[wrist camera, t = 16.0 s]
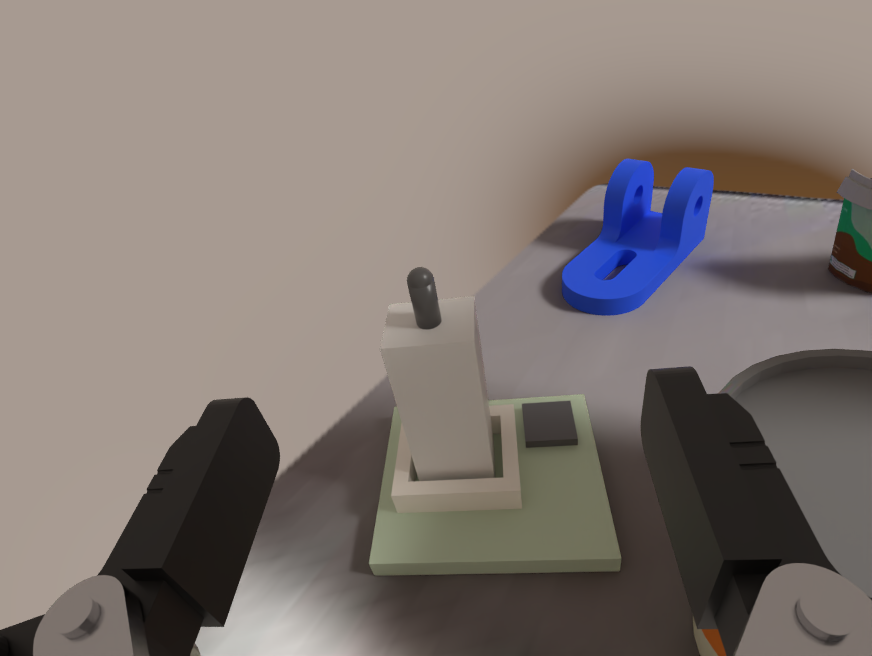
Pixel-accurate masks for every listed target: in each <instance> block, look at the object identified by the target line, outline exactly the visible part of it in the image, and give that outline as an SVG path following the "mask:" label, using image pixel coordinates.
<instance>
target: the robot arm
mask: <svg viewBox="0 0 872 656" xmlns="http://www.w3.org/2000/svg"><path fill="white" fill-rule="evenodd" d="M641 437H642V444H643V449H644V453H645V456H646V460H647V463H648V466H649V470H650V473H651V476H652V480H653V483H654V486H655V490H656V493H657V496H658V500H659V503H660V506H661V510H662V513H663V516H664V520H665V523H666V526H667V530H668V533H669V537H670V540H671V543H672V547H673V550H674V553H675V557H676V560H677V563H678V567H679V570H680V573H681V577H682V580H683V583H684V587H685V590H686V593H687V597H688V600H689V603H690V607H691V610H692V613H693V617H694V620H695V623H696V627H697V629H718V631H719V634H720V637H721V640H722V643H723V646H724V649H725V653H726V656H872V598H870V597H869V596H867V595H866V594H865V593H864V592H863V591H862V590H861V589H860V588H858V587H857V586H856V585H855V584H853V583H852V582H850V581H849V580H848V579H846V578H844V577H843V576H842V575H841V574H840V573H839V572H838V571H837V570H836V569H835V568H834V566H833V565H832V564H831V563H830V561H829V560H828V558H827V557H826V555H825V553H824V552H823V550H822V548H821V546H820V544H819V542H818V541H817V539H816V537H815V535H814V533H813V531H812V529H811V527H810V525H809V523H808V522H807V520H806V518H805V516H804V514H803V512H802V510H801V508H800V506H799V504H798V503H797V501H796V499H795V497H794V495H793V493H792V491H791V489H790V487H789V485H788V484H787V482H786V480H785V478H784V476H783V474H782V472H781V470H780V468H777V466H776V461H775V459H774V457H773V455H772V453H771V451H770V449H769V447H768V446H766V445H765V440H764V438H763V436H762V434H761V432H760V430H759V428H758V426H757V425H756V423H755V421H754V419H753V417H752V415H751V414H750V413H749V412H748V411H747V410H746V409H744V408H743V407H742V406H741V405H740V404H739V403H738V402H737V401H735V400H734V399H733V398H732V397H731V396H730V395H729V394H728V393H720V394H707V393H706V391H705V389H704V387H703V385H702V382H701V380H700V378H699V376H698V374H697V372H696V370H695V369H694V368H693V367H677V368H663V369H650V370H648V373H647V377H646V385H645V392H644V400H643V408H642V416H641ZM279 461H280V452H279V446H278V443H277V440H276V438H275V437H274V435H273V433H272V432H271V430H270V428H269V426H268V425H267V423H266V421H265V419H264V418H263V416H262V414H261V412H260V411H259V409H258V407H257V406H256V404H255V402H254V401H253V400H252V399H250V398H235V399H221V400H213V401H212V402H210V403H209V404H208V405H207V407H206V409H205V411H204V412H203V414H202V416H201V418H200V420H199V422H198V424H197V426H190V427H189V428H188V429H187V430H186V431H185V432H184V433H183V434H182V435H181V436H180V437H179V438H178V439H177V440H176V441H175V442H174V443H173V445H172V446H171V447H170V448H169V450H168V452H167V453H166V455H165V457H164V459H163V461H162V462H161V464H160V466H159V468H158V470H157V471H158V474H157V475H154V477H153V479H152V480H151V482H150V484H149V486H148V488H147V493H146V494H144V495H143V497H142V499H141V500H140V502H139V504H138V506H137V507H136V509H135V511H134V513H133V515H132V517H131V519H130V520H129V522H128V524H127V526H126V527H125V529H124V531H123V533H122V535H121V536H120V538H119V540H118V542H117V543H116V546H115V548H114V549H113V551H112V553H111V554H110V556H109V558H108V560H107V561H106V563H105V565H104V567H103V569H102V570H101V571H100V573H99V574H98V575H97V576H95V577H91V578H88V579H86V580H83V581H82V582H80V583H78V584H76V585H75V586H73V587H72V588H70V589H69V590H68V591H66V592H65V593H64V594H63V595H62V596H61V597H60V598H59V599H57V601H56V602H55V603H54V604H53V605H52V606H51V607H50V608H49V610H48V611H47V613H46V614H44V615H42V616H39V617H36V618H33V619H30V620H27V621H25V622H22V623H19V624H16V625H13V626H10V627H8V628H5V629H2V630H0V656H200V652H199V650H198V647H197V646H196V644H195V641H196V638H197V635H198V633H199V630H200V627H224V625H225V622H226V619H227V616H228V613H229V610H230V607H231V604H232V601H233V599H234V596H235V593H236V590H237V587H238V584H239V581H240V578H241V575H242V573H243V570H244V567H245V564H246V561H247V558H248V555H249V552H250V549H251V546H252V544H253V541H254V538H255V535H256V532H257V529H258V526H259V523H260V520H261V518H262V515H263V512H264V509H265V506H266V503H267V500H268V497H269V494H270V492H271V489H272V486H273V483H274V480H275V477H276V474H277V471H278V468H279Z"/></svg>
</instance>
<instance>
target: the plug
mask: <svg viewBox="0 0 872 656" xmlns="http://www.w3.org/2000/svg"><path fill="white" fill-rule="evenodd" d="M407 284H408V288H409V293H410V297H411V301H412V302H408V303H398V304H390V305H389V309H388V314H387V318H386V324H385V328H384V332H383V337H382V342H381V346H380V350H381V354H382V358H383V361H384V364H385V368H386V371H387V374H388V378H389V381H390V385H391V388H392V391H393V395H394V398H395V401H396V405H397V408H398V412H399V415H400V418H401V422H402V425H403V428H404V432H405V435H406V438H407V442H408V445H409V449H410V452H411V455H412V459H413V462H414V465H415V469H416V472H417V475H418V479H419V481H437V480H460V479H482V478H495V454H494V438H493V430H492V423H491V416H490V408H489V401H488V394H487V386H486V379H485V372H484V364H483V357H482V350H481V342H480V335H479V328H478V320H477V313H476V306H475V298H474V296H470V297H461V298H450V299H440V300H438V298H437V293H436V287H435V282H434V277H433V275H432V273H431V272H430V271H429V270H428V269H426V268H423V267H418V268H415V269H413V270H412V271H411V272H410V273H409V275H408V277H407Z"/></svg>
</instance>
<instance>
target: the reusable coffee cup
mask: <svg viewBox="0 0 872 656" xmlns="http://www.w3.org/2000/svg"><path fill="white" fill-rule="evenodd" d="M720 393H728V394H729V395H730V396H731V397H732V398H733V399H734V400H735V401H737V402H738V403H739V404H740V405H741V406H742V407H743V408H744V409H746V410H747V411H748V412H749V413H750V414H751V415H752V417H753V419H754V421H755V423H756V425H757V426H758V428H759V430H760V432H761V434H762V436H763V438H764V440H765V445H766V446H768V447H769V449H770V451H771V453H772V455H773V457H774V459H775V461H776V466H777V468H780V470H781V472H782V474H783V476H784V478H785V480H786V482H787V484H788V485H789V487H790V489H791V491H792V493H793V495H794V497H795V499H796V501H797V503H798V504H799V506H800V508H801V510H802V512H803V514H804V516H805V518H806V520H807V522H808V523H809V525H810V527H811V529H812V531H813V533H814V535H815V537H816V539H817V541H818V542H819V544H820V546H821V548H822V550H823V552H824V553H825V555H826V557H827V558H828V560H829V561H830V563H831V564H832V565H833V566H834V568H835V569H836V570H837V571H838V572H839V573H840V574H841V575H842V576H843V577H844V578H846V579H848V580H849V581H850V582H852V583H853V584H855V585H856V586H857V587H858V588H860V589H861V590H862V591H863V592H864V593H865V594H866V595H867V596H869V597H870V598H872V351H863V350H845V349H825V350H808V351H800V352H795V353H790V354H784V355H779V356H775V357H773V358H770V359H767V360H765V361H762V362H759V363H757V364H754V365H752V366H750V367H749V368H747V369H746V370H744V371H742V372H741V373H739V374H738V375H736V376H735V377H733V378H732V379H731V380H730V382H729V383H728V384H727V385H726V386H725V387H724V388H723V389H722V390H721V391H720V392H719V394H720ZM693 629H694V637H695V640H696V644H697V647H698V651H699V654H700V656H726V653H725V649H724V646H723V643H722V640H721V637H720V634H719V631H718V629H697V627H696V623H695V620H694V617H693Z"/></svg>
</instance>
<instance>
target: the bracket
mask: <svg viewBox="0 0 872 656" xmlns="http://www.w3.org/2000/svg"><path fill="white" fill-rule="evenodd" d="M653 181H654V172H653V167H652V165H651V163H650V162H647V161H640V160H634V159H625V160H623V161H622V162H621V163H620V164H619V165H618V166H617V167H616V169H615V171H614V172H613V174H612V176H611V178H610V181H609V184H608V187H607V190H606V194H605V201H604V219H603V228H602V231H601V233H600V235H599V237H598V238H597V239H596V240H595V241H594V242H593V243H591V244H590V245H589V246H588V247H587V248H586V249H584V250H583V251H582V252H581V253H580V254H579V255H578V256H576V257H575V258H574V259H573V260H572V261H571V262H569V263H568V264H567V265H566V266H565V268H564V270H563V272H562V294H563V297H564V299H565V300H566V301H567V303H568V304H570V305H571V306H572V307H574V308H576V309H578V310H580V311H583V312H586V313H589V314H595V315H618V314H623V313H627V312H630V311H632V310H635V309H637V308H638V307H640V306H641V305H642V304H643V303H644V302H645V301H646V300H647V299H648V298H649V297H650V296H651V295H652V294H653V293H654V292H655V291H656V289H657V288H658V287H659V286H660V285H661V284H662V283H663V282H664V281H665V280H666V279H667V278H668V276H669V275H670V274H671V273H672V272H673V271H674V270H675V269H676V268H677V267H678V266H679V265H680V263H681V262H682V261H683V260H684V259H685V258H686V257H687V256H688V255H689V254H690V253H691V252H692V250H693V249H694V248H695V247H696V246H697V245H698V244H699V243H700V242H701V241H702V240H703V239H704V235H705V229H706V224H707V218H708V213H709V207H710V202H711V197H712V191H713V174H712V172H711V171H709V170H703V169H696V168H689V167H686V168H684V169H682V170H681V171H680V172H679V174H678V175H677V176H676V178H675V180H674V181H673V183H672V185H671V187H670V190H669V192H668V195H667V198H666V201H665V204H664V208H663V213H658V212H653V211H650V209H651V200H652V191H653ZM621 265H627V266H626V267H625V268H624V269H623V270H622V271H621V272H620V273H619V274H618V275H617V276H616V277H615V278H613V279H611V280H603V279H604V278H605V277H606V276H607V275H609V274H610V273H611V272H612V271H613V270H614V269H615V268H616V267H618V266H621Z"/></svg>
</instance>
